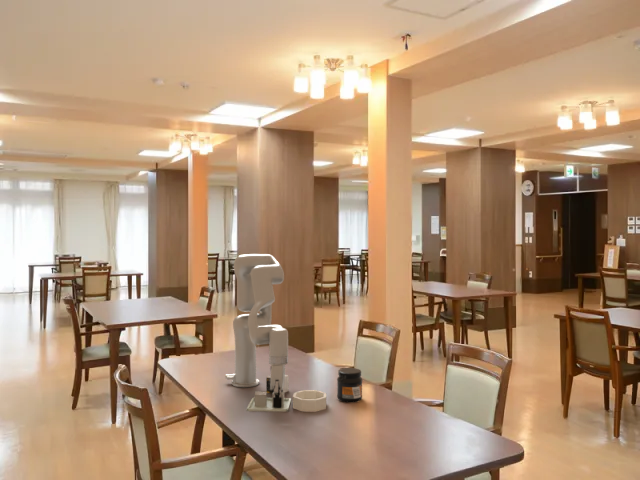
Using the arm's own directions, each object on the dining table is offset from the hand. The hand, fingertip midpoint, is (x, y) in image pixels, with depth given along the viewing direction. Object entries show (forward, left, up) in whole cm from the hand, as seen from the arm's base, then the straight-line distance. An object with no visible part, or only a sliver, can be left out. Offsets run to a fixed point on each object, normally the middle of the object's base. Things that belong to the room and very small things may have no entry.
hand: (278, 404), depth 217 cm
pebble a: (0, 0, 0) cm, 0 cm away
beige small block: (-7, 0, 0) cm, 7 cm away
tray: (-4, 0, -1) cm, 4 cm away
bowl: (+12, 0, -1) cm, 13 cm away
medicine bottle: (-3, +19, -1) cm, 19 cm away
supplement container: (+28, +11, -1) cm, 31 cm away
